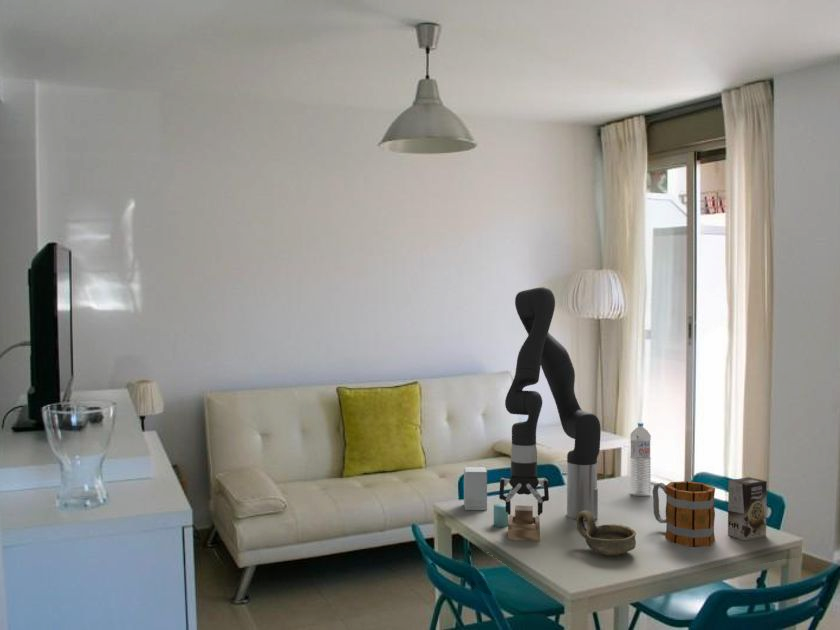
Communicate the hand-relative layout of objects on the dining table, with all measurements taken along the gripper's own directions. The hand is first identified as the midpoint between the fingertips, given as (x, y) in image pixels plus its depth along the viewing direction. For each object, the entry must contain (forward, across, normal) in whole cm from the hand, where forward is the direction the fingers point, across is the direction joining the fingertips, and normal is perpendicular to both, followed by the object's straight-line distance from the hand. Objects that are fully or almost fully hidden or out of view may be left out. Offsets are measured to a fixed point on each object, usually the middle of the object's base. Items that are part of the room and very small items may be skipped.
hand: (524, 514), depth 219 cm
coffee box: (+6, -64, -8) cm, 65 cm away
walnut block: (+3, 0, 0) cm, 3 cm away
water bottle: (+6, -40, -50) cm, 64 cm away
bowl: (+6, -22, +11) cm, 25 cm away
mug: (+6, -45, -5) cm, 46 cm away
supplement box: (+6, +16, -27) cm, 32 cm away
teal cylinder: (+6, +7, -9) cm, 13 cm away
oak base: (+6, 0, 0) cm, 6 cm away
